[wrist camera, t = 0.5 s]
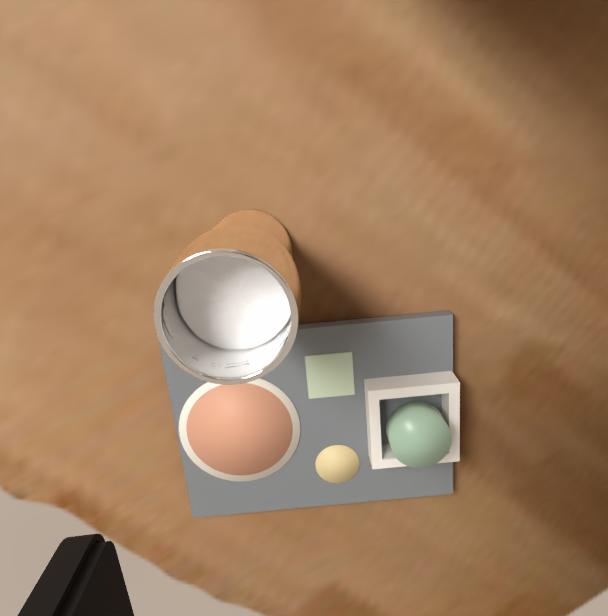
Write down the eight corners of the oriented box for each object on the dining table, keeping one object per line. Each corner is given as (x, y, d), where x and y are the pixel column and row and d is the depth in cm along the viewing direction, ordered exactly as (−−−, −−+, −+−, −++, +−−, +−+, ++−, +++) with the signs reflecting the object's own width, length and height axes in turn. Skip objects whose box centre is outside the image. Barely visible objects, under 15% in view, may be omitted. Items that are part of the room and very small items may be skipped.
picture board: (162, 337, 39) (152, 352, 36) (449, 310, 39) (461, 323, 36) (195, 509, 44) (188, 535, 41) (449, 486, 44) (460, 509, 41)
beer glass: (306, 213, 37) (317, 260, 22) (288, 304, 39) (287, 400, 25) (209, 194, 36) (157, 229, 22) (196, 287, 38) (140, 376, 24)
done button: (384, 404, 38) (389, 417, 36) (443, 398, 38) (451, 411, 36) (387, 454, 40) (392, 470, 38) (444, 449, 40) (451, 465, 38)
